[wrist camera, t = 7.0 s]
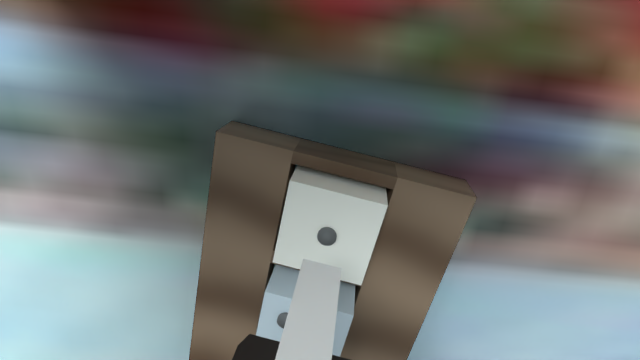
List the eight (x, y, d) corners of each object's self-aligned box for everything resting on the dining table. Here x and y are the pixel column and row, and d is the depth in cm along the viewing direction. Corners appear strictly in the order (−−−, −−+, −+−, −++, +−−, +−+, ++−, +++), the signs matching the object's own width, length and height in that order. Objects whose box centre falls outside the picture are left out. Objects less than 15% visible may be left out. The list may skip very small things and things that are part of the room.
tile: (301, 157, 22) (288, 181, 18) (385, 179, 22) (388, 207, 18) (285, 230, 24) (271, 264, 20) (362, 250, 24) (361, 288, 20)
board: (232, 120, 22) (215, 131, 20) (465, 180, 22) (476, 197, 19) (199, 361, 30) (185, 389, 27) (371, 408, 29) (371, 440, 27)
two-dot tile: (278, 255, 24) (263, 294, 20) (355, 276, 24) (353, 317, 20) (266, 315, 26) (250, 359, 22) (336, 334, 25) (332, 381, 22)
